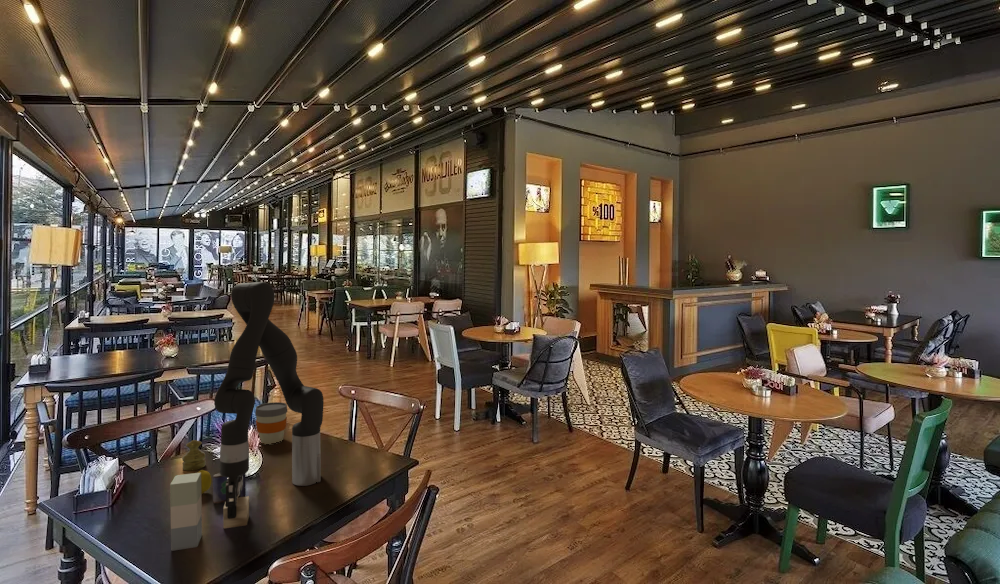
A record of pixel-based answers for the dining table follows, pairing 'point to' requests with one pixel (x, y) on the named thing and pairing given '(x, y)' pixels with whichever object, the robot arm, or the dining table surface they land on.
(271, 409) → the reusable coffee cup
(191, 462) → the olive tiered cone
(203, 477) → the lemon
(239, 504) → the maple cube
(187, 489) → the tower top
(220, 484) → the flask
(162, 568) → the dining table surface
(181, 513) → the tower mid
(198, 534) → the tower base
